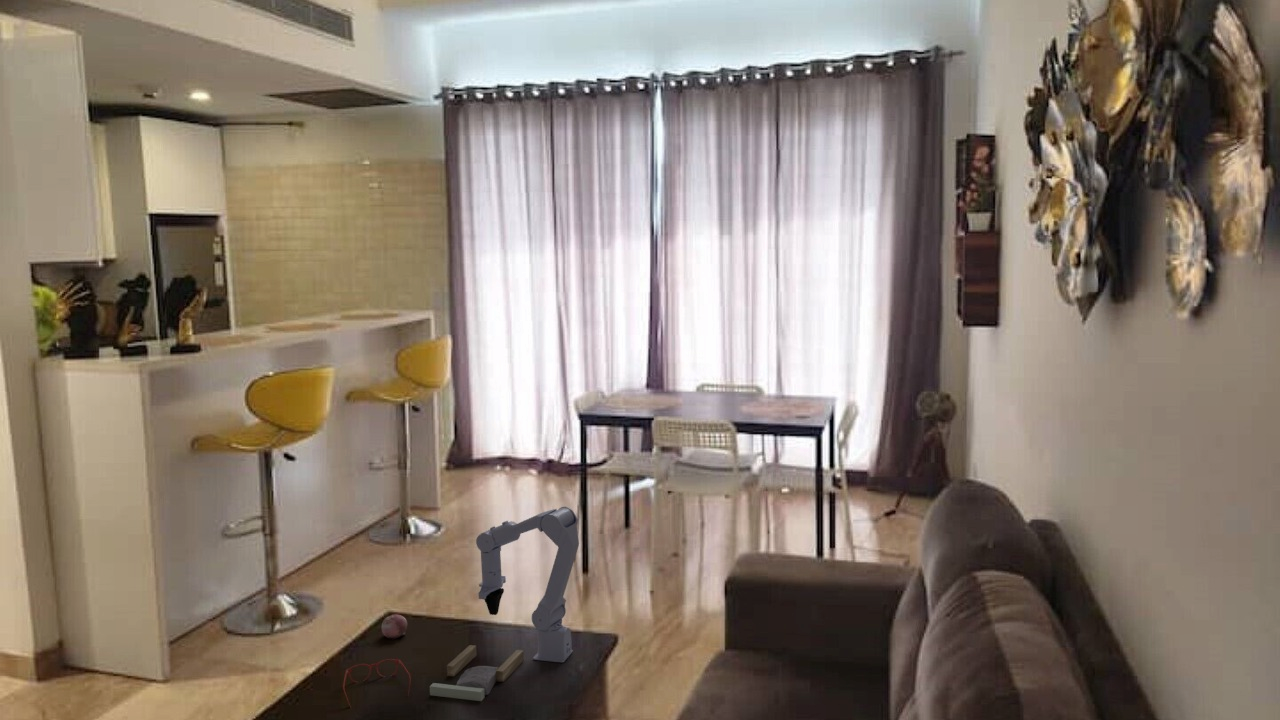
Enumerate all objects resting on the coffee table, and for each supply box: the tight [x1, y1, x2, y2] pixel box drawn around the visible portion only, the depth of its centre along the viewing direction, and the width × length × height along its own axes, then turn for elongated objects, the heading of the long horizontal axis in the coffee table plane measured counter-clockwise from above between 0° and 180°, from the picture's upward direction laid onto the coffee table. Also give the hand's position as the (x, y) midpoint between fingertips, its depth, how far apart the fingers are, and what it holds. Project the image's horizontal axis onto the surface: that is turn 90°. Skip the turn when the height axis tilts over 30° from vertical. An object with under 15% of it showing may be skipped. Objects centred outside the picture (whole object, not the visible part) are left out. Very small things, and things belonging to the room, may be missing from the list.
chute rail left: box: [446, 644, 478, 677], centre depth 265 cm, size 2×14×3 cm, turn 164°
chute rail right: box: [496, 649, 525, 683], centre depth 261 cm, size 2×14×3 cm, turn 164°
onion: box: [381, 614, 408, 641], centre depth 287 cm, size 8×8×7 cm
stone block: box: [455, 665, 499, 696], centre depth 252 cm, size 12×5×10 cm
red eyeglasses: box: [342, 658, 412, 708], centre depth 252 cm, size 17×16×5 cm
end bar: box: [429, 682, 486, 702], centre depth 246 cm, size 15×2×2 cm, turn 74°
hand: (493, 613), depth 277 cm, fingers closed
